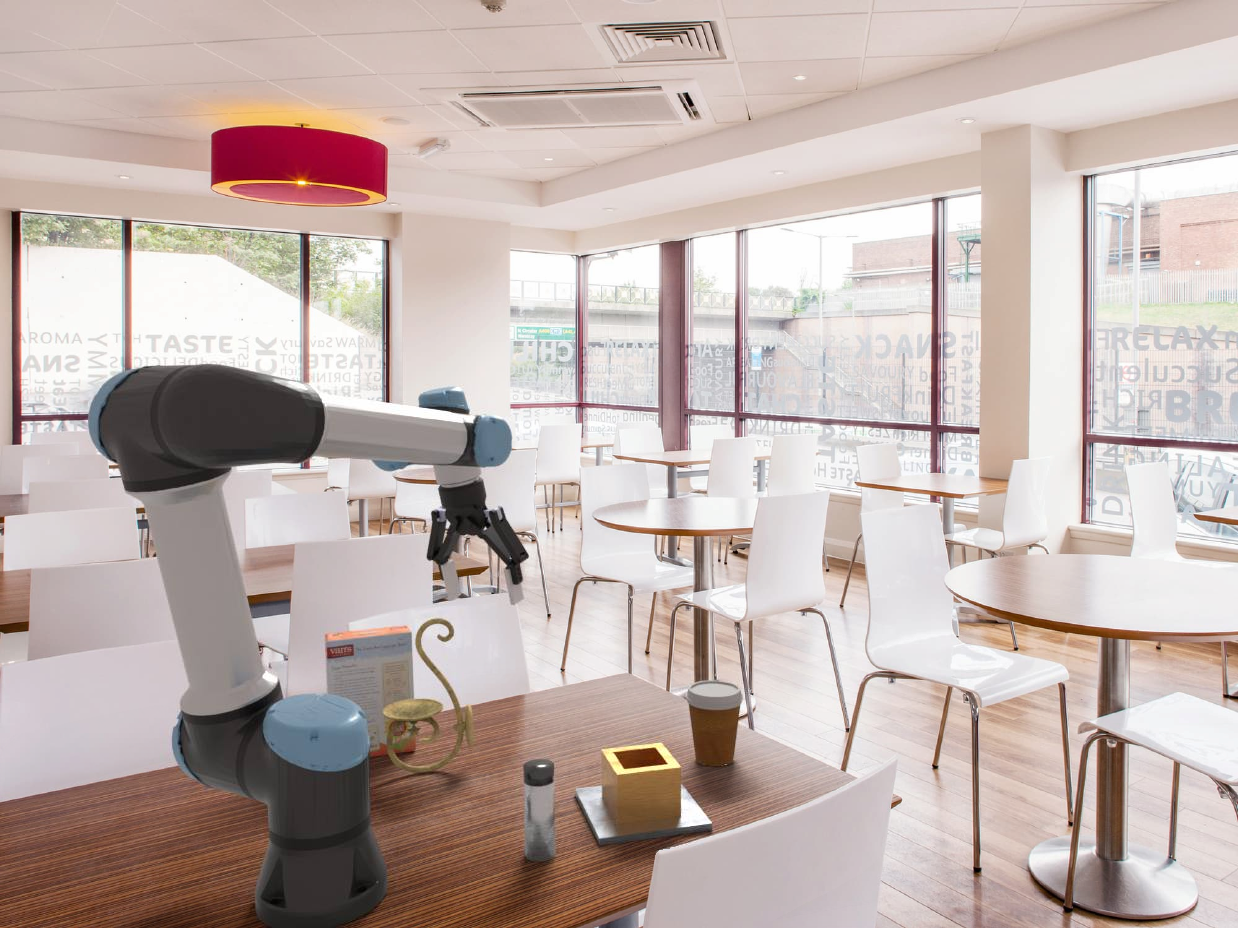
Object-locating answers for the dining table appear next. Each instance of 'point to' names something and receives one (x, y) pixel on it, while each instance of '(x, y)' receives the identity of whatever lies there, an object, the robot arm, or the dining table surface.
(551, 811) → the capped glass tube
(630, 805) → the yellow open box
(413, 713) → the wall sconce
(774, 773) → the dining table surface
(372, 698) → the cracker box
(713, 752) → the disposable coffee cup
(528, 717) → the dining table surface
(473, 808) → the dining table surface
